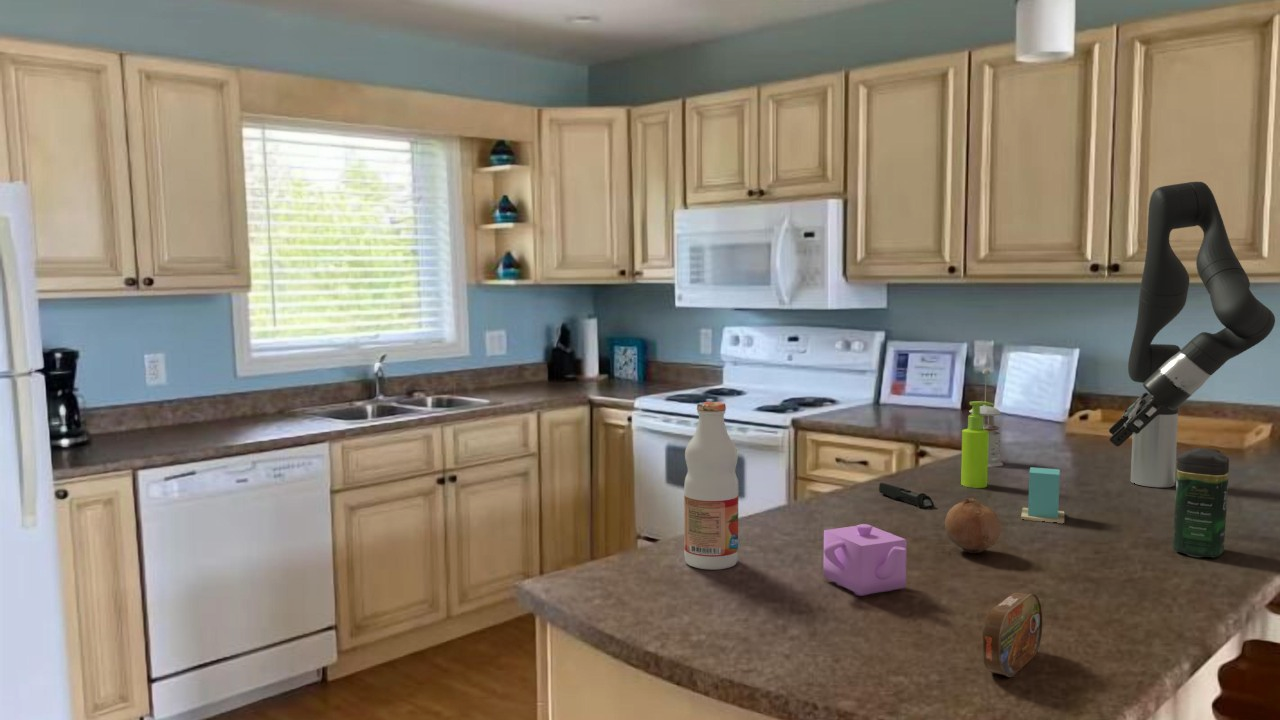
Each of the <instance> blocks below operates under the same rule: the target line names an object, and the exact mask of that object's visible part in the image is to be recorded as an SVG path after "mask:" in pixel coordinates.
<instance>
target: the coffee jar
mask: <svg viewBox="0 0 1280 720" xmlns="http://www.w3.org/2000/svg"><path fill="white" fill-rule="evenodd" d="M1229 467H1230V459H1229V456H1227V455H1226V454H1223V453H1222V452H1221V451H1220V450H1219V449H1212V448H1203V447H1193V449H1190V450H1186V451H1185V452H1182V453H1181V454H1179V455H1178V458H1176V476H1175V495H1174V496H1175V499H1174V518H1173V531H1172V548H1173V550H1174V552H1178V553H1181V554H1184V555H1185V554H1186V555H1187V556H1189V557H1194V558H1204V557H1205V558H1217V557H1220V556H1221V555H1222V554H1223V553H1224V550H1225V538H1226V522H1227V511H1228V510H1227V508H1228V498H1229V497H1228V496H1229V495H1228V493H1229V474H1230V471H1229V470H1230V469H1229Z"/></svg>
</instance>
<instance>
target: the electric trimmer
mask: <svg viewBox="0 0 1280 720" xmlns="http://www.w3.org/2000/svg"><path fill="white" fill-rule="evenodd" d="M878 491H879V493H880V494H881V495H882V494H883V495H885V496H886V497H888V498H890V499H892V500H894V501H903V502H905V503H908V504H911V505H913V506H917V507H918V508H919V509H920V510H921V509H923V510H927V509H928V508H929V509H933V508H935V504H934V501H933V500H932V498H931V497H930V496H929V495H927V494H926V493H924V492H921V493H917V492H913V491H911V490H910V489H905V488H904V487H899V486H895V485H891V484H888V483H885V482H880V483H879V487H878Z"/></svg>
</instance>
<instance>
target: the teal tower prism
mask: <svg viewBox="0 0 1280 720" xmlns="http://www.w3.org/2000/svg"><path fill="white" fill-rule="evenodd" d="M1060 472H1061V470H1060V469H1058V468H1046V467H1033V466H1032V467H1030V468H1029V475H1028V476H1029V478H1028V505H1027V508H1028V516H1036V517H1046V518H1057V519H1058V511H1059V501H1060V498H1059V497H1060V496H1059V495H1060V476H1061V475H1060Z"/></svg>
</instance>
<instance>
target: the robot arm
mask: <svg viewBox="0 0 1280 720" xmlns="http://www.w3.org/2000/svg"><path fill="white" fill-rule="evenodd" d="M1197 226H1198V227H1199V228H1200V229H1201V231H1203V238H1202V242H1201V245H1200V247H1199V250H1198V253H1197V255H1196V261H1195V262H1196V265H1195V266H1196V269H1197V273H1198V276H1199V278H1200V280H1201V281H1202V283H1203V285H1204V287H1205V290H1206V291H1207V293H1208V294H1209V296H1210V302H1211V307H1212V309H1213V312H1214V314H1215V316H1216V318H1217V320H1218V321H1219V322H1220V323H1221V325H1222V326H1224V327H1223V329H1221V330H1219V331H1218V332H1216V333H1212V332H1211V333H1210V332H1208V331H1203V332H1200V333H1198V334H1197V335H1195V336H1194V337H1193V338H1192V339H1190V341H1188V343H1186V344H1185V345H1184V346H1183V347H1182V348H1180V346H1179V345H1177V344H1165V343H1163V344H1162V343H1161V344H1160V343H1159V344H1157V343H1155V344H1154V343H1152V342H1153V340H1154V338H1155V337H1156V336H1157V334H1158V333H1160V331H1161V330H1163V329H1164V328H1165V327H1166V326H1167V325H1168V324H1169V323H1170V322H1172V321H1173V320H1174V319H1175V318H1176V317H1177V316H1178V315H1179V314H1180V313H1181V312H1182V310H1184V308H1185V306H1186V303H1187V297H1188V294H1189V286H1190V276H1189V273H1188V270H1187V268H1186V267H1185V266H1184V264H1183V263H1182V261H1181V260H1180V259H1179V257H1178V256H1177V255H1176V253H1175V252H1174V250H1173V249H1172V247H1171V242H1170V236H1171V232H1172V231H1173V230H1176V229H1183V228H1184V229H1185V228H1191V227H1197ZM1146 237H1147V238H1146V239H1147V240H1146V253H1145V260H1144V267H1143V272H1142V277H1141V282H1140V290H1139V300H1138V307H1137V308H1138V309H1137V316H1136V317H1137V318H1136V325H1135V329H1134V335H1133V339H1132V342H1131V347H1130V352H1129V355H1128V356H1129V357H1128V364H1127V365H1128V367H1127V371H1128V376H1129V378H1130V380H1131V381H1133V382H1135V383H1142V386H1143V387H1144V389H1145V390H1146V392H1144V393H1142V395H1141V396H1140V397H1137V398H1136V399H1134V402H1133V403H1132V404H1131V405H1130V406H1129V407H1128V408H1126V409H1125V410H1124V411H1123V413H1122V415H1121V418H1119V419H1118V420H1117V421H1116V422H1115V423H1113V424H1112V426H1111V427H1110V428H1109V429H1108V432H1109V433H1110V434H1111V436H1110V437H1109V442H1111V443H1112V444H1113V445H1114V446H1115V447H1117V448H1119V447H1120V446H1122V445H1123V443H1124V442H1126V441H1128V439H1129V438H1130V437H1131V436H1132V437H1131V438H1132V439H1131V461H1130V463H1131V464H1130V482H1131V483H1132V484H1134V483H1135V485H1139V486H1144V487H1150V488H1151V487H1152V488H1171V487H1174V486H1176V470H1177V448H1178V447H1177V446H1178V445H1177V441H1178V424H1179V423H1178V421H1179V420H1178V418H1179V407H1180V406H1181V405H1183V404H1184V402H1186V401H1187V400H1189V398H1190V397H1191V396H1192V395H1194V394H1195V393H1196V392H1197V391H1198V390H1199V389H1201V388H1202V386H1203V385H1204V384H1205V383H1206V382H1207V381H1208V380H1209V378H1210V377H1211V376H1212V375H1214V374H1215V373H1216V372H1217V371H1218V370H1219V369H1220V368H1221V367H1223V366H1224V364H1225V363H1226V362H1228V361H1229V360H1230V359H1233V358H1235V357H1237V356H1239V355H1240V354H1243V353H1244V352H1246V351H1248V350H1249V349H1252V348H1254V347H1255V346H1256V345H1258V344H1259V343H1262V341H1264V340H1265V339H1266V338H1267V337H1268V336H1269V335H1270V334H1271V332H1272V331H1273V329H1274V327H1275V324H1276V317H1275V314H1274V313H1273V312H1272V310H1271V309H1269V308H1268V307H1267V306H1266V305H1264V304H1263V303H1262V302H1261V301H1260V300H1258V299H1257V298H1256V296H1254V294H1253V292H1252V291H1251V290H1250V288H1251V286H1250V285H1251V282H1250V279H1249V276H1248V274H1247V273H1246V271H1245V269H1244V268H1243V266H1242V264H1241V262H1240V261H1239V258H1237V255H1236V254H1235V251H1234V250H1233V247H1232V245H1231V243H1230V239H1229V236H1228V233H1227V229H1226V226H1225V224H1224V220H1223V218H1222V215H1221V212H1220V209H1219V206H1218V203H1217V200H1216V198H1215V195H1214V193H1213V191H1212V189H1211V188H1210V187H1209V185H1207V183H1205V182H1203V181H1187V182H1182V183H1177V184H1176V183H1175V184H1169V185H1163V186H1159V187H1157V188H1155V189H1154V190H1153V192H1152V193H1151V196H1150V199H1149V204H1148V216H1147V236H1146Z"/></svg>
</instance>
